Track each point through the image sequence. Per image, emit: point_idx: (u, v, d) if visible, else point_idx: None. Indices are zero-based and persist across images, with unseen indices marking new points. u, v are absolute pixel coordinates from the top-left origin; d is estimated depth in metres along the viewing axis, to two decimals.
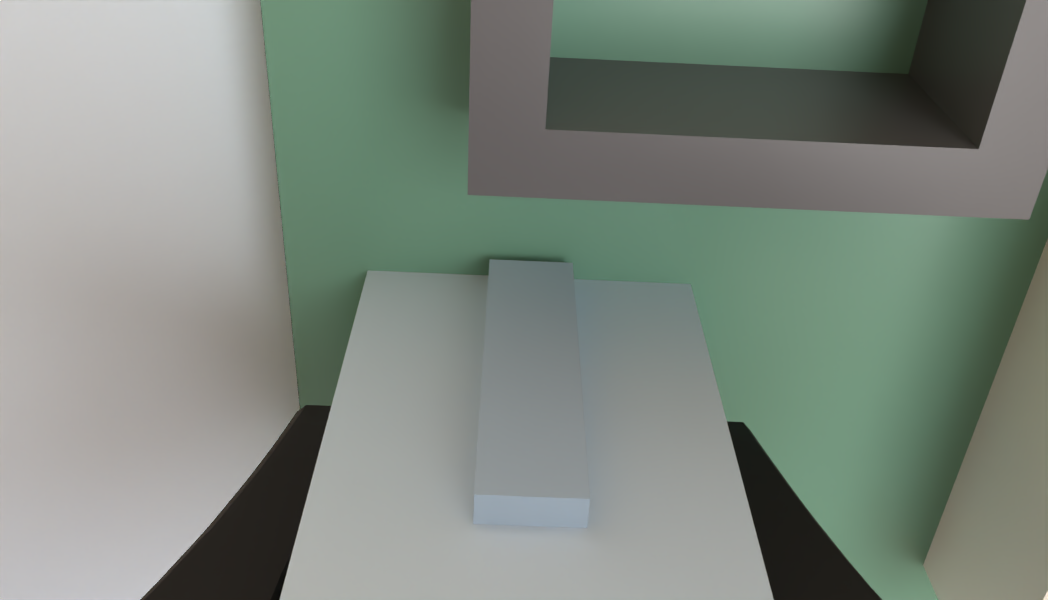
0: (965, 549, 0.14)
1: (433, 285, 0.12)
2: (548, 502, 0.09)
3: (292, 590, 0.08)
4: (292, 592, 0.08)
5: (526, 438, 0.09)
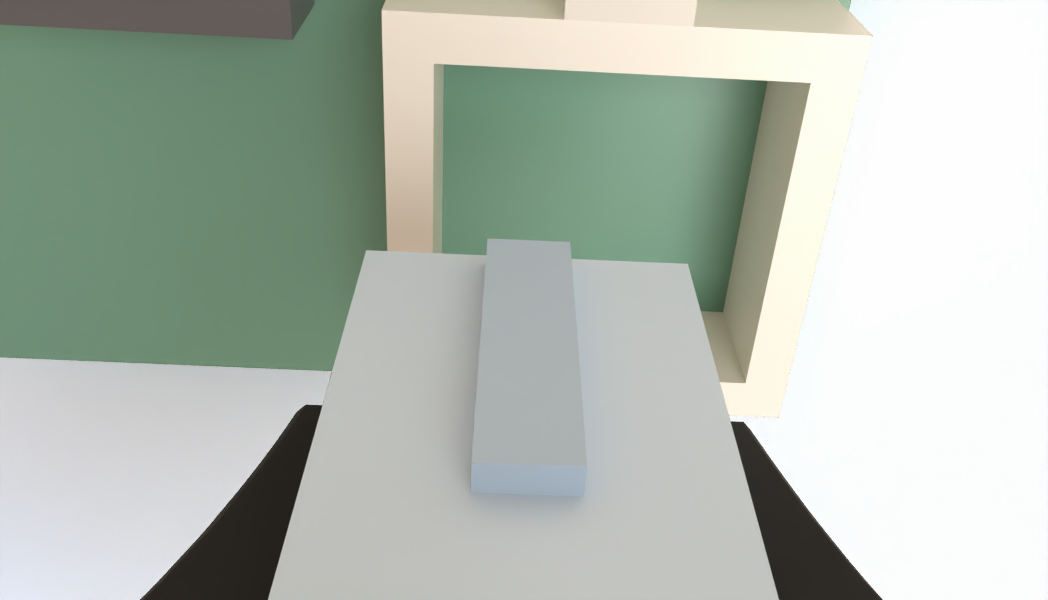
0: None
1: (430, 263, 0.12)
2: (545, 470, 0.09)
3: (291, 555, 0.08)
4: (290, 557, 0.08)
5: (522, 409, 0.09)
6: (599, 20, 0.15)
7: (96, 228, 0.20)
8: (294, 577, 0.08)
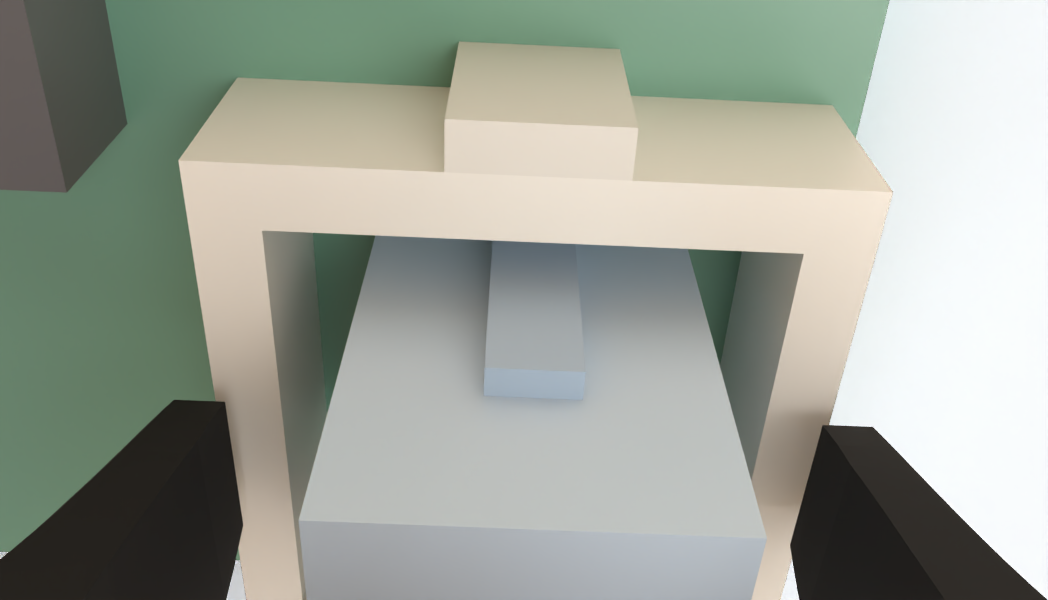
0: None
1: None
2: (549, 376, 0.10)
3: (327, 442, 0.09)
4: (328, 444, 0.09)
5: (529, 326, 0.10)
6: (496, 172, 0.11)
7: None
8: (332, 459, 0.09)
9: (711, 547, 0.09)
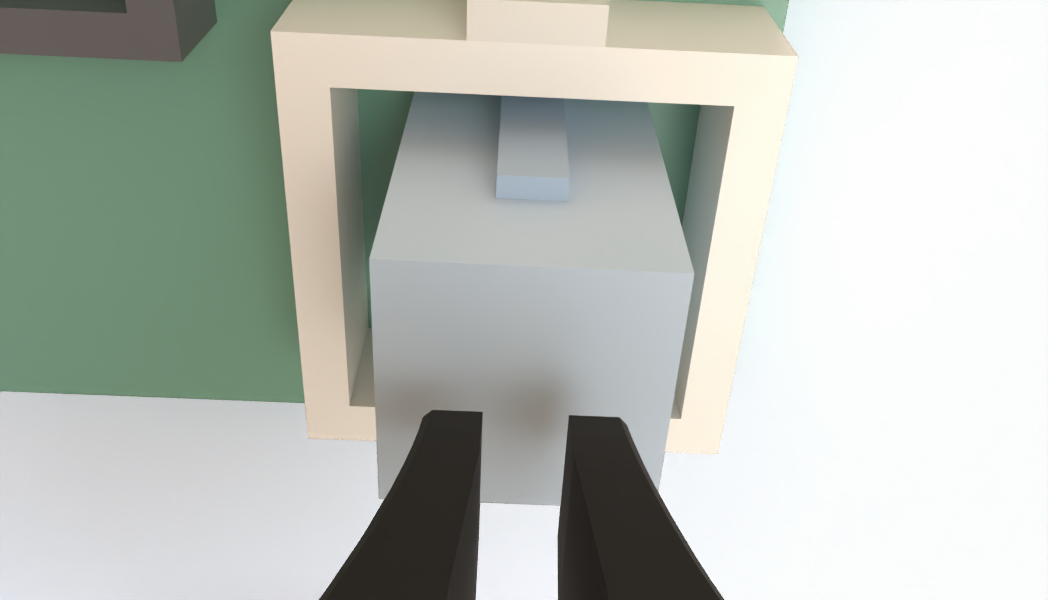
0: None
1: None
2: (543, 182, 0.14)
3: (385, 220, 0.13)
4: (385, 221, 0.13)
5: (529, 153, 0.14)
6: (504, 41, 0.14)
7: (3, 255, 0.19)
8: (389, 229, 0.13)
9: (655, 281, 0.12)
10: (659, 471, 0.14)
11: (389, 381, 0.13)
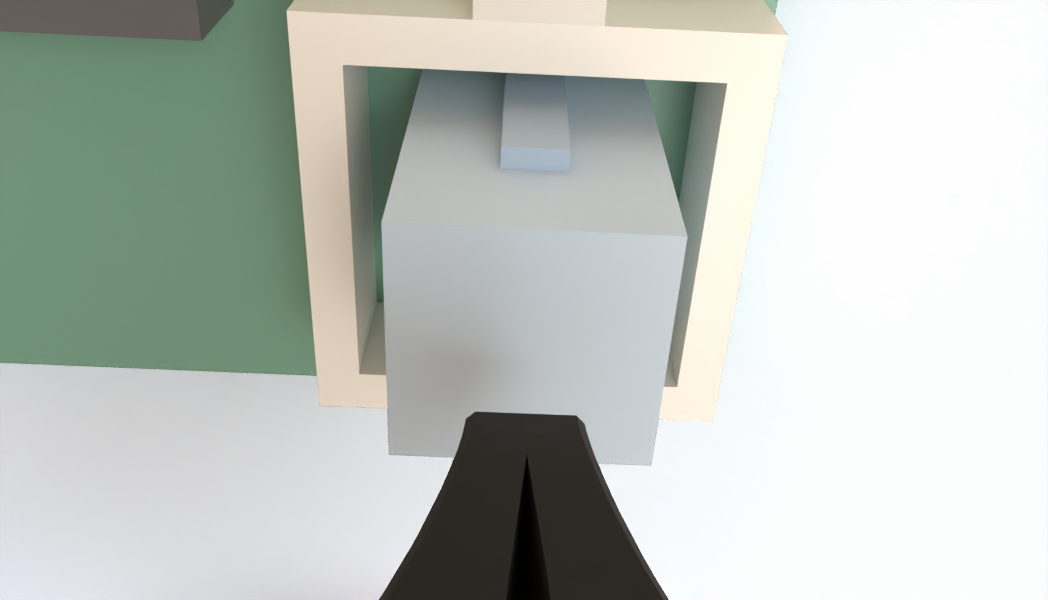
0: None
1: (468, 72, 0.18)
2: (545, 153, 0.14)
3: (396, 188, 0.14)
4: (396, 188, 0.14)
5: (531, 127, 0.15)
6: (508, 20, 0.15)
7: (26, 231, 0.20)
8: (400, 196, 0.13)
9: (651, 243, 0.13)
10: (655, 429, 0.15)
11: (399, 340, 0.14)
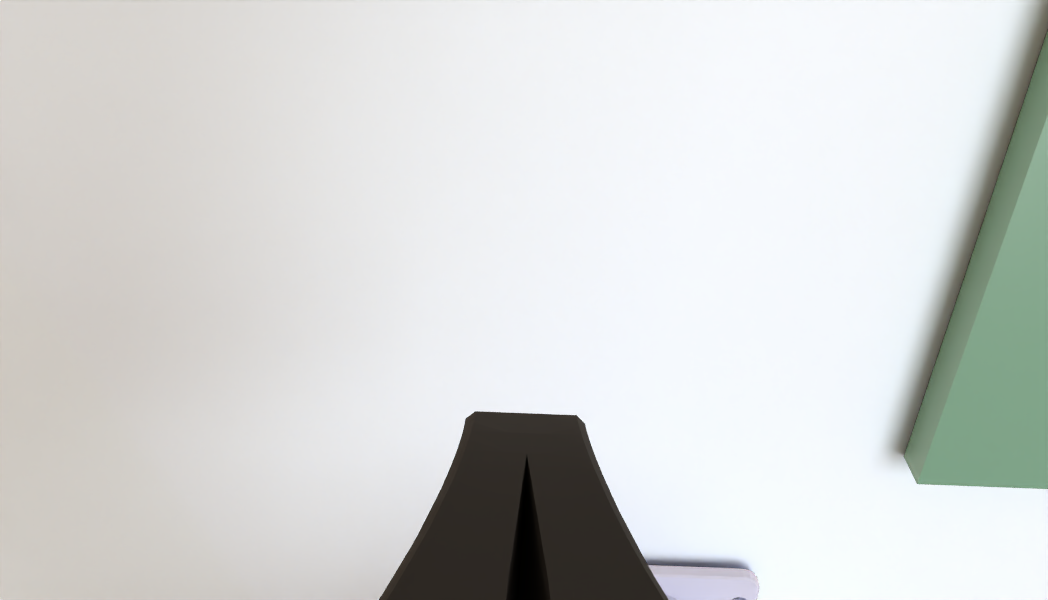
0: None
1: None
2: None
3: None
4: None
5: None
6: None
7: None
8: None
9: None
10: None
11: None
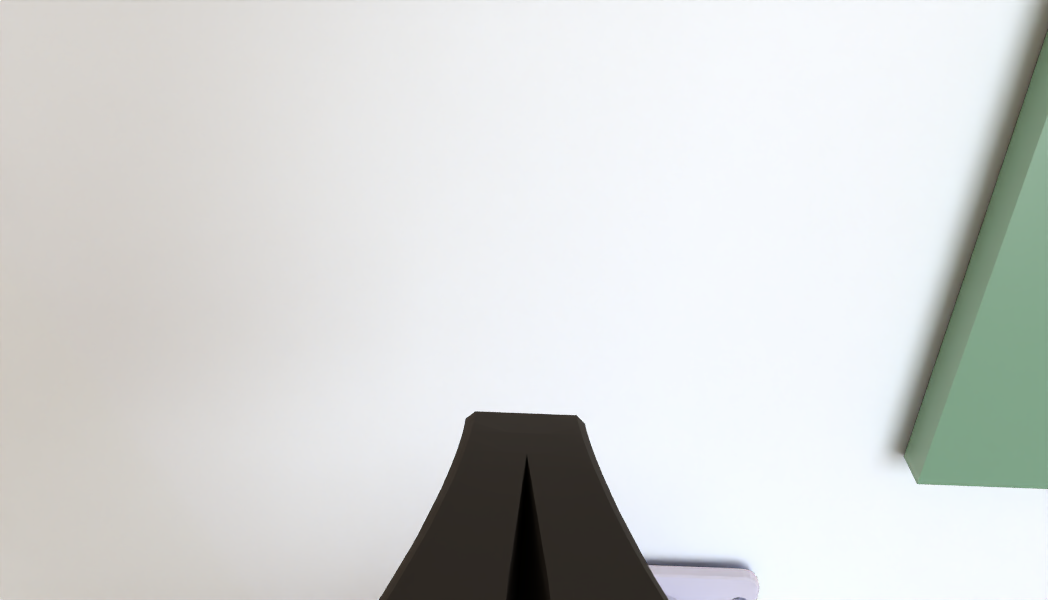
0: None
1: None
2: None
3: None
4: None
5: None
6: None
7: None
8: None
9: None
10: None
11: None
